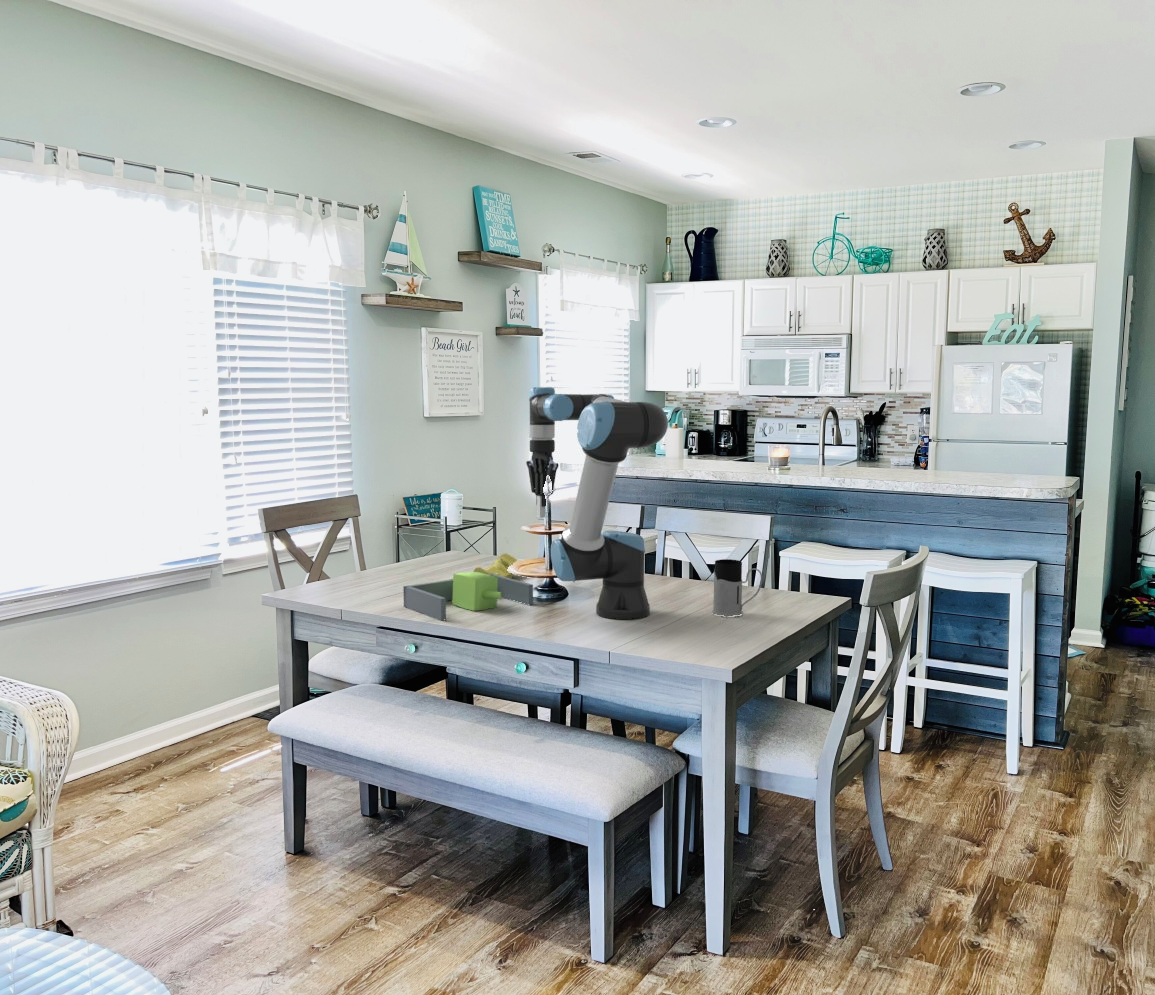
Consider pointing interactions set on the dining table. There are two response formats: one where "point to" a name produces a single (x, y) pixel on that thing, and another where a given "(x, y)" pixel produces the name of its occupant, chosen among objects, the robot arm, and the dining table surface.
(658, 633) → the dining table surface
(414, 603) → the grey low frame
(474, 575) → the gearbox
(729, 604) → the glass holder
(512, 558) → the yellow crumpled cloth
